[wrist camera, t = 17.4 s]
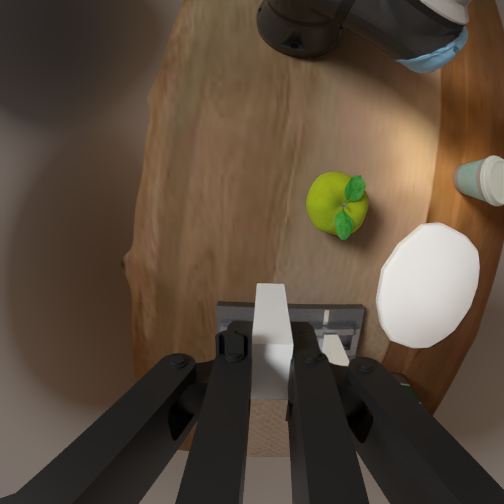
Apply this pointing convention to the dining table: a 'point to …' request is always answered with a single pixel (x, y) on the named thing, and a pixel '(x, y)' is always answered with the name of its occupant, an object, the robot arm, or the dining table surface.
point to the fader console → (306, 319)
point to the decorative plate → (427, 285)
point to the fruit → (337, 203)
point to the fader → (333, 349)
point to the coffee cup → (482, 180)
